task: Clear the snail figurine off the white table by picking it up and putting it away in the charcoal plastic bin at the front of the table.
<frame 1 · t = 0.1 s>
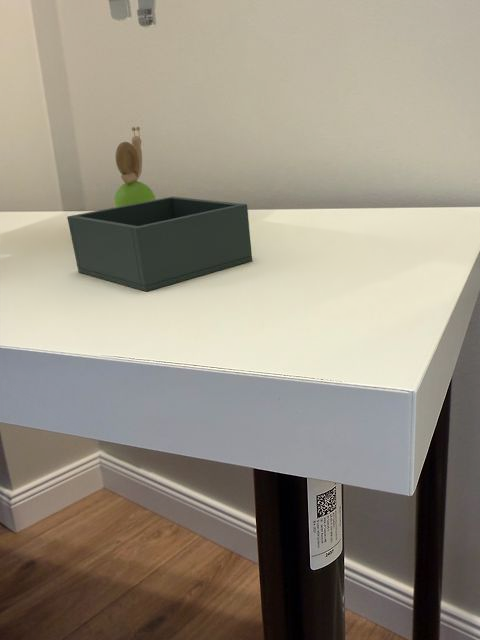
hand: (135, 23, 74), 23 cm above the table, tool pointing down, fingers open, 8 cm apart
bin: (164, 266, 65), on the table
snail figurine: (140, 223, 90), on the table
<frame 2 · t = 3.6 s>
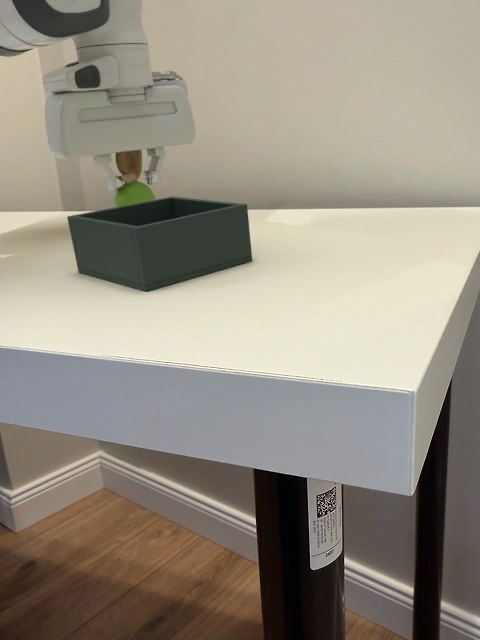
hand: (134, 187, 88), 5 cm above the table, tool pointing down, fingers closed on snail figurine, 4 cm apart
snail figurine: (140, 223, 90), on the table, touching gripper
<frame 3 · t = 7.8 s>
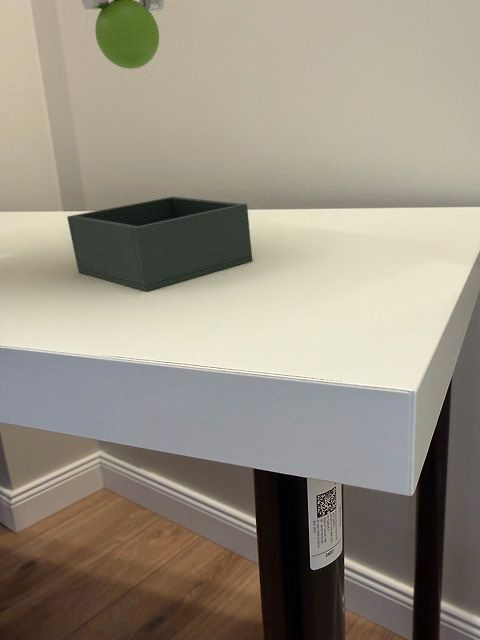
hand: (124, 9, 57), 23 cm above the table, tool pointing down, fingers closed on snail figurine, 4 cm apart
snail figurine: (136, 70, 59), point 18 cm above the table, touching gripper
when the fingers open (5 cm above the table, at t = 12.1 s): snail figurine stays where it is, resting on bin.
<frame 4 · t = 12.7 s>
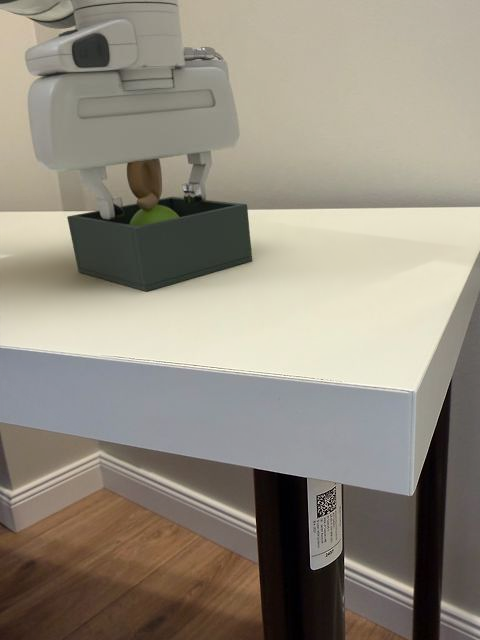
hand: (156, 209, 63), 6 cm above the table, tool pointing down, fingers open, 8 cm apart
snail figurine: (165, 261, 65), resting on bin
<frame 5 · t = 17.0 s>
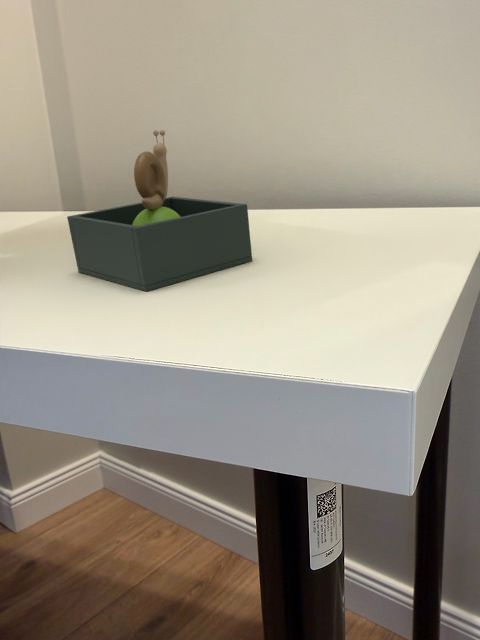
nothing on the table moved.
at the end: snail figurine inside the target area in the bin (0.1 cm from its centre), point 0.3 cm above the bin's base; the gripper is holding nothing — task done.
